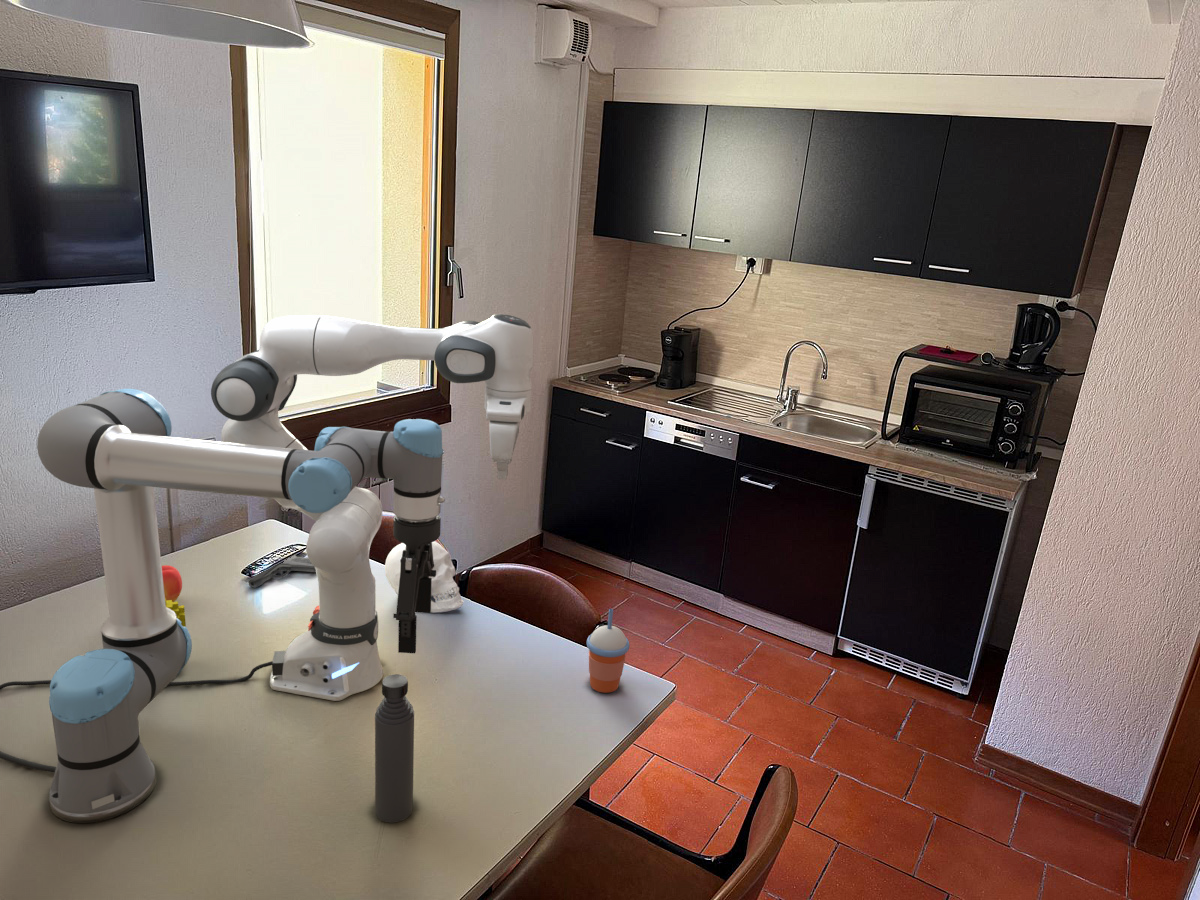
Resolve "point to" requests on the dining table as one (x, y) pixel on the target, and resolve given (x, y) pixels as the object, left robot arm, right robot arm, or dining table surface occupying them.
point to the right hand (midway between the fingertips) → (504, 470)
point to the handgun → (287, 565)
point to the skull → (439, 584)
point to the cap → (394, 686)
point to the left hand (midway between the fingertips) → (415, 631)
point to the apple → (171, 582)
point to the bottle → (394, 759)
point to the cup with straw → (606, 656)
